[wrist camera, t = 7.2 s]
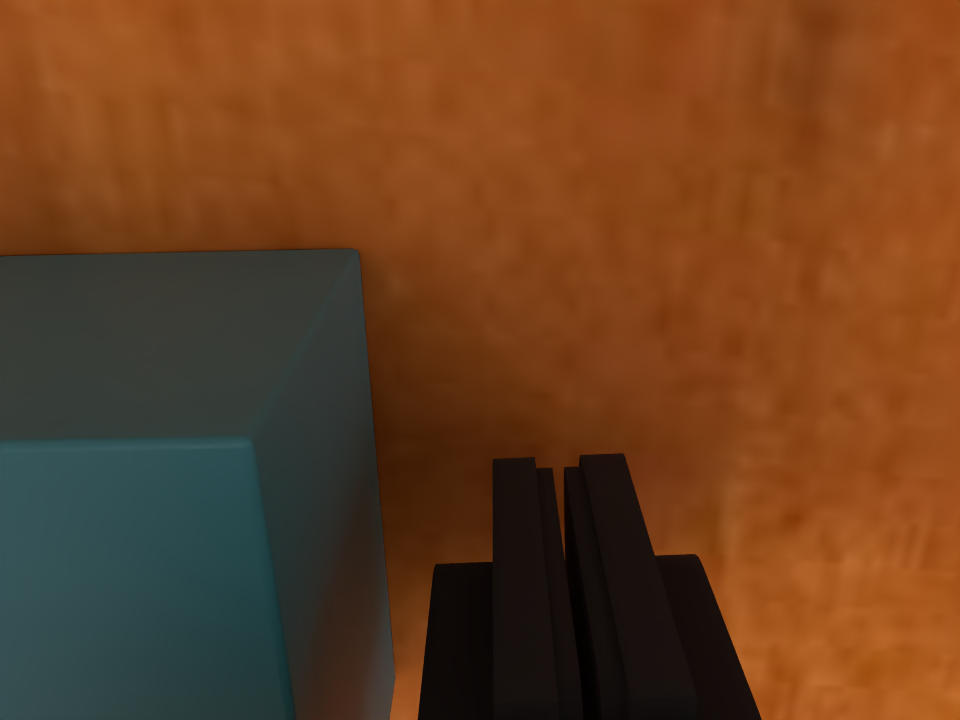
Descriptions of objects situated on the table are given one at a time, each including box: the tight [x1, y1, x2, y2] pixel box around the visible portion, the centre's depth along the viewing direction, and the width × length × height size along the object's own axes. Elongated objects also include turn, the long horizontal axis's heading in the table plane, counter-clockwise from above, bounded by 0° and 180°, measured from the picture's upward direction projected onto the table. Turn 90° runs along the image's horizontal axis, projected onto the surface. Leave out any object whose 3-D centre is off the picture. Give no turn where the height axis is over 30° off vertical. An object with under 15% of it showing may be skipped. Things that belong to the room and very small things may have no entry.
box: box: [0, 249, 395, 720], centre depth 9 cm, size 5×7×5 cm
